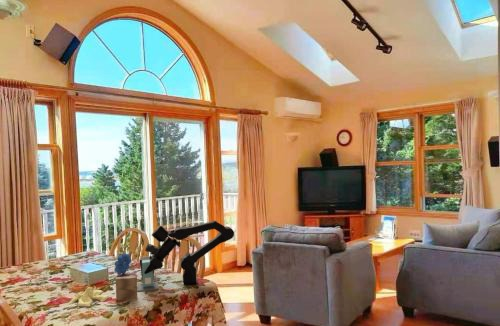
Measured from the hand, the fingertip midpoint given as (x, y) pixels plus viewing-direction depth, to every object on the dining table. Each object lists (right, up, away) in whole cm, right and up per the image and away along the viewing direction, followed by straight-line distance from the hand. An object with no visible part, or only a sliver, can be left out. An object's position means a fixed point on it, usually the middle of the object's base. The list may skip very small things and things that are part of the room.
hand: (144, 272), depth 196 cm
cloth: (-23, -10, -14) cm, 29 cm away
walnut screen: (-4, -8, -15) cm, 18 cm away
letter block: (+2, -7, 0) cm, 7 cm away
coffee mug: (-3, -8, +21) cm, 23 cm away
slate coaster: (+2, -8, 0) cm, 8 cm away
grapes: (-20, -8, +26) cm, 34 cm away
